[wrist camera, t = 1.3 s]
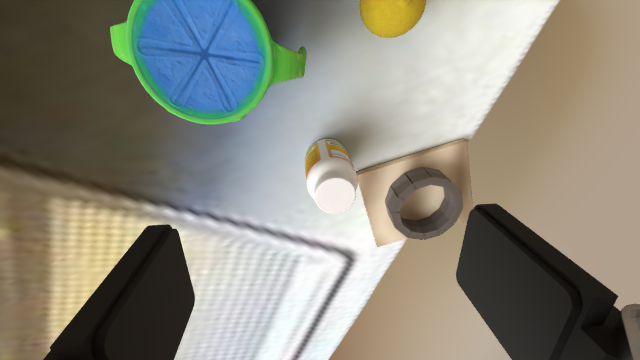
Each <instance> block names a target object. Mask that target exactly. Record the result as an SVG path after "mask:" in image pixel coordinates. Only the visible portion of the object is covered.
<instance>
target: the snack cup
mask: <svg viewBox="0 0 640 360" xmlns="http://www.w3.org/2000/svg"><path fill="white" fill-rule="evenodd" d="M110 32H111V40H112V46H113V50H114V53H115V55H116V56H117V57H119V58H120V59H121V60H123V61H125V62H127V63H128V64H130V65H132V66H133V68H134V70H135V73H136V75H137V77H138V78H139V80H140V82H141V83H142V85H143V86H144V88H145V89H146V90H147V92H148V93H149V94H150V95H151V96H152V97H153V98H154V99H155V100H156V101H157V102H158V103H159V104H160V105H162V106H163V107H165V108H166V109H167V110H168V111H169V112H171V113H172V114H175V115H177V116H179V117H181V118H184V119H186V120H189V121H192V122H196V123H199V124H222V123H227V122H231V121H233V122H236V121H238V120H241V119H243V118H244V117H245V116H246V114H247V113H249V112H250V111H251V110H252V109H253V108H254V107H255V106H256V105H257V104H258V103H259V102H260V101H261V99H262V98H263V96H264V95H265V93H266V91H267V89H268V88H269V87H270V86H271V85H272V84H275V83H278V82H283V81H287V80H292V79H296V78H302V77H303V76H304V72H305V60H306V49H305V48H304V47H303V46H302V47H301V48H300V49H299V52H298V53H297V52H294V51H291V50H289V49H287V48H285V47H283V46H280V45H279V44H277V43H276V42H274V41H273V39H272V38H271V35H270V32H269V29H268V27H267V25H266V22H265V20H264V18H263V16H262V15H261V13H260V11H259V10H258V8H257V7H256V6H255V4H254V3H253V2H252V1H251V0H134V2H133V4H132V6H131V8H130V11H129V15H128V20H127V22H125V23H120V24H118V25H114V26H111V27H110Z"/></svg>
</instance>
